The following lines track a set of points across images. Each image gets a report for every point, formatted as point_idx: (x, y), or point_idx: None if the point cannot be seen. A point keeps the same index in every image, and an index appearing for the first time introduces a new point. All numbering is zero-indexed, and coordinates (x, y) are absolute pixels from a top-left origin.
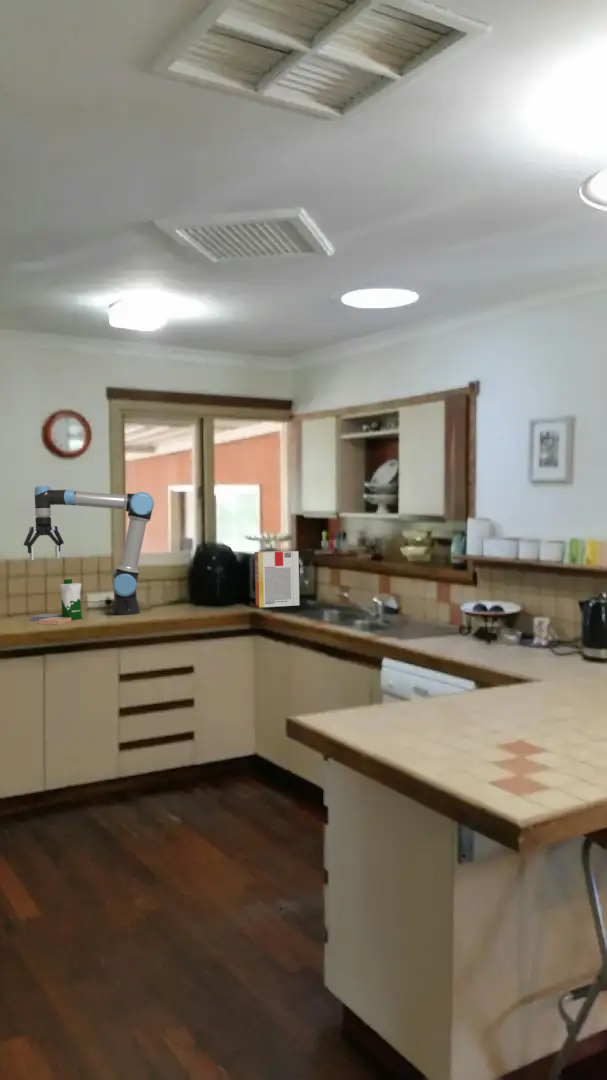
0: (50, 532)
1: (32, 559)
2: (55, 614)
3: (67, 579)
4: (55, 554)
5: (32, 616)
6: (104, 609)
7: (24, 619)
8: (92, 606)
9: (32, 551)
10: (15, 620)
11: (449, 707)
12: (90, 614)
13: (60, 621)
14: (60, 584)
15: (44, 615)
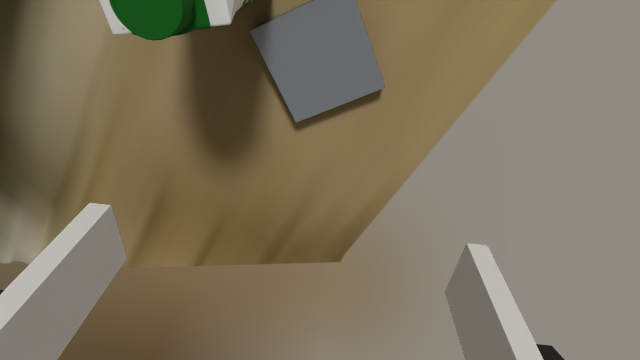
0: None
1: (482, 248)
2: (271, 58)
3: (141, 34)
4: (97, 291)
5: (374, 85)
6: (3, 133)
7: (370, 137)
8: (33, 233)
9: (529, 355)
10: (408, 141)
11: None
12: (97, 37)
13: None
14: (229, 15)
15: (322, 70)
